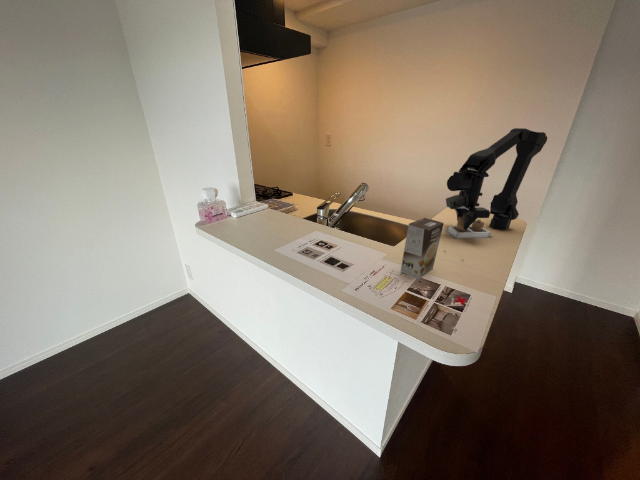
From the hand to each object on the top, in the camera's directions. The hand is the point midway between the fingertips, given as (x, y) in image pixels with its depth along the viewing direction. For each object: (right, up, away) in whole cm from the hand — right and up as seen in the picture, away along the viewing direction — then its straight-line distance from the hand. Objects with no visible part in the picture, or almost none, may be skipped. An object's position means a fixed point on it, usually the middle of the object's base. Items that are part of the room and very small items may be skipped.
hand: (462, 227), depth 104 cm
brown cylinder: (0, -1, 0) cm, 1 cm away
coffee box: (-27, -15, -23) cm, 38 cm away
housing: (+3, -4, +2) cm, 5 cm away
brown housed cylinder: (+6, -3, +2) cm, 7 cm away
